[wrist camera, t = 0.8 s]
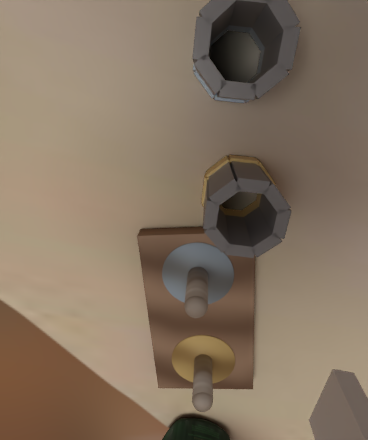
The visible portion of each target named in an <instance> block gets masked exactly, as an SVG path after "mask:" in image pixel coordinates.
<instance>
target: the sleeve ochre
mask: <svg viewBox="0 0 368 440" xmlns="http://www.w3.org/2000/svg"><path fill="white" fill-rule="evenodd" d="M275 184H276V183H275V182H274V181H273V179H272V178H271V176H270V175H269V174H268V172H267V171H266V170H265V168H264V167H263V165H262V164H261V163H260V161H259V160H258V159H256V158H254V157H246V156H237V155H229V158H228V156H227V155H226V156H225V157H224V158H223V159H221V160H220V161H219V162H217V163H216V164H215V165H213V166H212V167H211V168H210V169H208V170H207V171H206V173H205V176H204V184H203V192H202V201H201V203H202V206H203V207H204V217H203V229H204V232H205V234H206V235H207V236H208V237H209V238H210V240H211V241H212V242H213V243H214V244H215V246H216V247H217V248H218V249H219V250H220V252H221V253H222V252H225V255H232V256H240V257H248V258H254V254H255V255H256V257H259V256H260V255H262V254H263V253H265V252H266V251H268V250H270V249H271V248H273V247H274V246H276V245H278V244H279V243H281V242H282V240H281V239H280V238H282V239H284V238H285V234H286V230H287V226H288V222H289V218H290V214H291V210H290V208H291V207H290V206H289V204H288V203H287V202H286V200H285V199H284V198H283V196H282V195H281V193H280V192H279V191H278V189H277V188H276V185H275ZM239 191H243V192H251V193H257V198H256V201H254V202H253V203H252V204H250V205H249V206H247V207H246V208H244V209H243V210H234V209H225V208H224V207H223V206H222V205H221V204H222V203H223V202H225V201H226V200H228V199H229V198H230V197H232V196H233V195H235V194H236V193H237V192H239Z"/></svg>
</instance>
